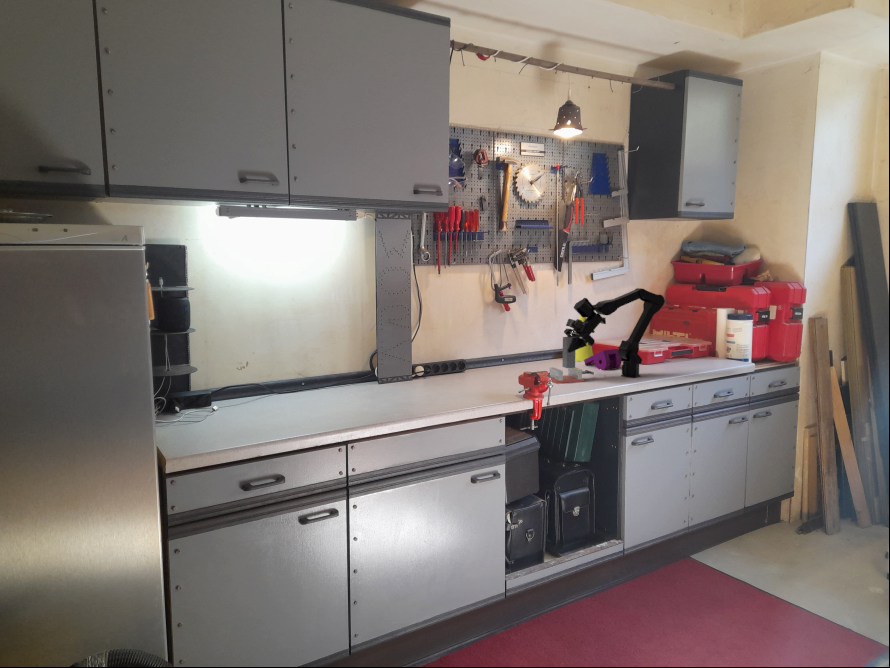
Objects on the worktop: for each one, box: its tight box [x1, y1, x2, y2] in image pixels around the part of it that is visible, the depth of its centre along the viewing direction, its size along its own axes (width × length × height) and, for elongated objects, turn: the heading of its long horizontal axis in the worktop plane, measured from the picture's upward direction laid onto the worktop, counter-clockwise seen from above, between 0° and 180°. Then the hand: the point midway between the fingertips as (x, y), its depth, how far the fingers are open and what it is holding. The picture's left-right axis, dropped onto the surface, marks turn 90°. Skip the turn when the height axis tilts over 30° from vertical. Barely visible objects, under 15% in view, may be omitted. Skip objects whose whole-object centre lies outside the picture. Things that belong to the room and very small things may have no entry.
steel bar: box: [562, 336, 576, 369], centre depth 253 cm, size 4×4×13 cm
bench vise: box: [549, 366, 595, 384], centre depth 254 cm, size 18×9×5 cm, turn 105°
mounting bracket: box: [583, 348, 622, 371], centre depth 284 cm, size 9×8×18 cm
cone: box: [575, 314, 594, 362], centre depth 305 cm, size 12×12×25 cm
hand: (566, 351), depth 252 cm, fingers closed on steel bar, 4 cm apart
